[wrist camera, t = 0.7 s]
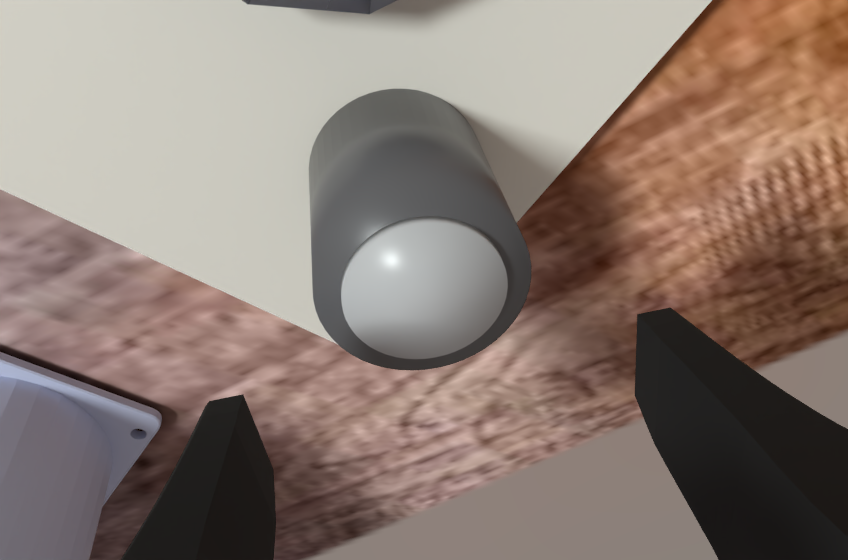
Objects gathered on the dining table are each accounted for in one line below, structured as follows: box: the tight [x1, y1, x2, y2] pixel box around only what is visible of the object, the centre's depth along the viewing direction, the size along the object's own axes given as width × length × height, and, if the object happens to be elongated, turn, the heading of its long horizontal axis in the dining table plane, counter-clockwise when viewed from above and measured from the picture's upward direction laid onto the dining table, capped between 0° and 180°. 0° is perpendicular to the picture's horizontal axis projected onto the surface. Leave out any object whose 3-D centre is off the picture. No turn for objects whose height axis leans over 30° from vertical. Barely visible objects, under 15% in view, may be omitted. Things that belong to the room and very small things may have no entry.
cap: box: [309, 89, 531, 370], centre depth 19 cm, size 5×5×6 cm
